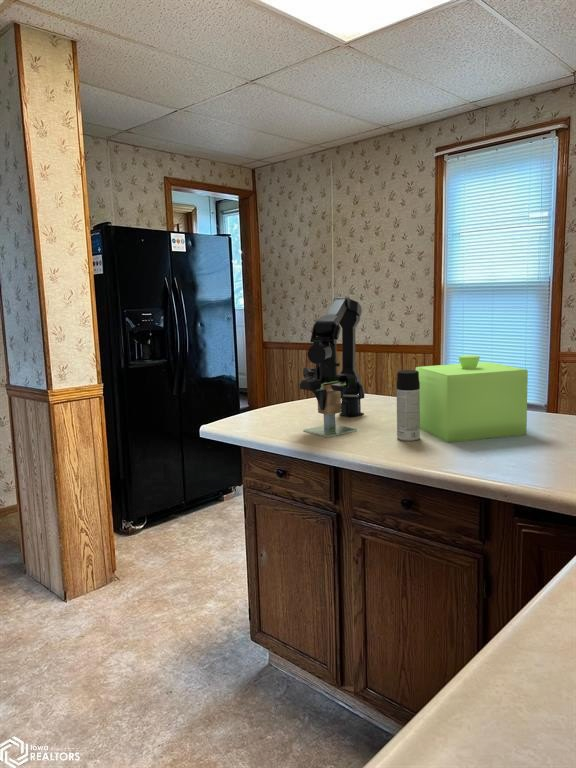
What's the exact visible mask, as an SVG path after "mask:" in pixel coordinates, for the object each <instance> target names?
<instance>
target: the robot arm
mask: <svg viewBox="0 0 576 768" xmlns="http://www.w3.org/2000/svg"><path fill="white" fill-rule="evenodd" d="M361 315H362V306H361V304H360V303H359V301H356V300H353V299H351V298H350V296H336V297H333V301H332V304H331V305H330V307H329V309H328V311H326V313H325V315H322V316H320V317H318V318H317V319H316V321H315V322H314V324H313V327H312V332H311V336H310V343H313V345H311V346H310V347H309V348H308V350H307V354H306V355H307V359H308V360H309V361H310V362H311V363H312V364H315V368H311V367H310V366H309V367H305V368H302V376H303V378H304V379H301V381H300V382H299V389H300V390H304V391H309V392H312V393H313V395H314V397H315V399H316V400H317V405H318V404H319V406H320V409H321V410H324V408H325V400H326V390H327V389H326V388H324V387H325V386H329V385H330V387H331V390H336V391H341V413H338V415H339V416H345V417H349V418H353V417H359V416H363V415H365V413H364V412H362V411H361V410H362V409H361V408H362V407H361V400H362V399H365V390H364V387H363V384H362V382H361V376H360V374H359V372H358V371H357V369H356V364H357V363H356V329H357V326H358V325H359V323H360V321H361ZM340 333H341V334H342V335H341V337H342V338H341V342H342V343H341V346H342V347H341V349H342V353H341V356H342V357H341V360H342V362H338V359H337V358H338V357H337V355H338V353H337V343H338V342H337V341H338V340H339V337H340ZM340 363H342V364H341V365H342V366H341V365H340ZM340 366H341V367H342V368H341V369H342V370H341V371H340V373H339V374H338V367H340Z"/></svg>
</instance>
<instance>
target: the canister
mask: <svg viewBox="0 0 576 768" xmlns="http://www.w3.org/2000/svg"><path fill="white" fill-rule="evenodd" d="M480 358H481V357H480V356H479V355H475V354H473V355H472V354H468V355H467V354H466V355H465V354H464V355H460V356H458V359H459V363H453V364H451V363H450V364H439V365H426V366H425V365H423V366H416V367H415V371H418V372H419V382H420V430H422V431H424V432H425V433H428V434H430V435H432V436H434V437H436V438H438V439H439V440H442V441H444V442H446V443H457V442H466V441H467V442H468V441H477V439H478V440H485V439H487V438H488V439H494V438H495V439H496V438H497V437H498V438H506V437H507V436H508V437H517V436H526V435H527V431H528V429H527V427H528V426H527V422H528V421H527V420H528V384H529V383H528V380H529V378H528V375H529V372H528V369H526V368H520V367H517V366H509V365H506V364H501V363H500V364H499V363H496V362H491V361H481V362H480Z"/></svg>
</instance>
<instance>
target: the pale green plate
mask: <svg viewBox="0 0 576 768" xmlns="http://www.w3.org/2000/svg"><path fill="white" fill-rule="evenodd" d="M357 430H358V429H357V428H352V427H349V426H344V425H341V424H337V423H336V414H332V415H326V414H323V425H318V426H313V427H310V428H304V429H303V432H306V433H308V434H314V435H317V436H320V437H324V438H332V437H333V438H334V437H337V436H341V435H345V434H349V433H354V432H357Z"/></svg>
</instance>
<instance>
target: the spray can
mask: <svg viewBox="0 0 576 768" xmlns="http://www.w3.org/2000/svg"><path fill="white" fill-rule="evenodd" d="M396 374H397V375H396V436H397V437H396V438H397V440H399V441H404V442H406V441H407V442H413V441H415V442H416V441H418V440H419V439H420V438H421V429H420V382H419V372H418V371H416V369H411V370H410V369H404V370H398V371H397V373H396Z"/></svg>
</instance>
